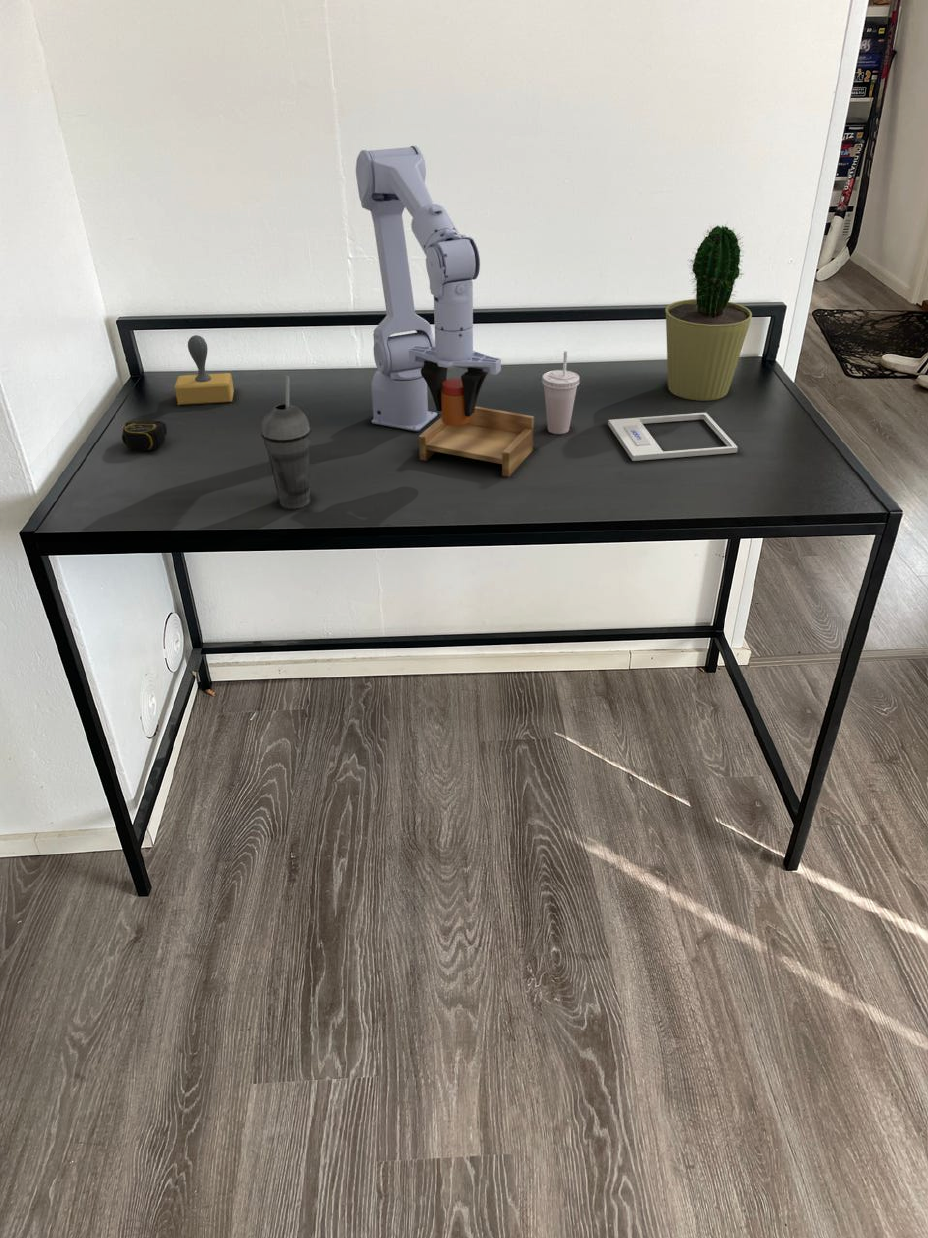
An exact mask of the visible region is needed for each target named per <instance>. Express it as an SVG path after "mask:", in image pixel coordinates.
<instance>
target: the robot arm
mask: <svg viewBox="0 0 928 1238" xmlns="http://www.w3.org/2000/svg"><path fill="white" fill-rule="evenodd" d="M426 166H427V165H426V161H425V156H424V154H423V152H422V151H421V149H420V148H419V147H418V146H417V145H410V146H408V147H393V148H384V149H374V150H367V149H362V150H360V152H359V153H358V155H357V158H356V163H355V177H356V185H357V192H358V197H359V201H360V205H361V208H362V209H365V210H367V211H370V214H371V219H372V224H373V229H374V237H375V245H376V249H377V250H376V251H377V257H378V264H379V270H380V277H381V285H382V291H383V292H382V293H383V299H384V305H385V313H386V314H385V315H386V316H385V317H384V318H383V319H382V320H381V321H380V322H379V323H378V324H377V326H376V327H375V328H374V330H373V334H372V336H373V337H372V338H373V359H374V362H375V367H376V369H377V370H376V371H375V373H374V375H373V377H372V380H371V400H372V402H371V403H372V416H373V419H371V424H374V425H379V426H383V427H384V426H386V427H390V428H394V429H401V430H407V431H411V432H420V431H421V430H422V429H423V428H424V427H426V426H427V425H428V424H429V423H430V422H431V421H433V420H434V419H435V418H437V416H438V412H439V413H440V412H441V390H442V383H443V382H444V381H445V380H447V376H448V368H458V369H464V370H467V371H465V372H464V373H463V374H462V375H460V379H461V380H462V384H463V389H464V397H465V406H464V411H465V416H468V417H470V416H471V415H472V414H473V413H474V411H475V406H477V402H478V397H479V394H480V391H481V388H482V386H483V384H484V383H485V380H486V377H487V375H488V374H489V375H492V376H497V375H498V374H500V372H501V371H502V359H501V358H499V357H493V356H490V355H487V354H484V353H481V352H478V351H475V350H474V291H473V289H474V284H473V282H474V280H477V279H478V277H479V275H480V272H481V271H480V270H481V259H480V257H481V256H480V251H479V248H478V246H477V243H476V241H475V239H474V238H473V237H471V236H467V235H466V234H460V232H459V230H458V228H457V227H456V225H455V223H454V222H453V220H452V218H451V217H450V215H449V213H448V211H447V210H446V209H445V207H444V206H442V205H440V204H438V203H434V201H433V199H432V196H431V194H430V192H429V190H428V188H427V185H426V176H427V170H426V169H427V167H426ZM405 209H406V210H407V212H408V213H409V215H410V216H411V217H412V219H411V223H410V227H411V231H412V233H413V235H414V238H416V241H417V242H418V244H419V245H420V247H421V250H422V251H423V253H424V255H425V256H426V258H425V265H426V272H427V276H428V280H429V290H430V294H431V295H433V312H434V313H433V316H434V320H433V321H434V335H433V330H432V326H431V324H430V322H429V321H427V320H426V319H425V318H424V317H421V316H420V315H418V314H417V313H416V308H415V301H414V293H413V286H412V278H411V271H410V264H409V257H408V249H407V242H406V234H405V233H406V232H405V227H404V220H403V214H404V211H405ZM407 332H409V333H407ZM410 332H411V333H410ZM401 333H404V334H401ZM395 334H398V335H395ZM391 335H392V336H391ZM428 389H429V391H430V394H431V396H432V399H433V402H434V405H435V410H436V412H434V411H429V401H428V398H429V397H428ZM441 413H442V412H441Z"/></svg>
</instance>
